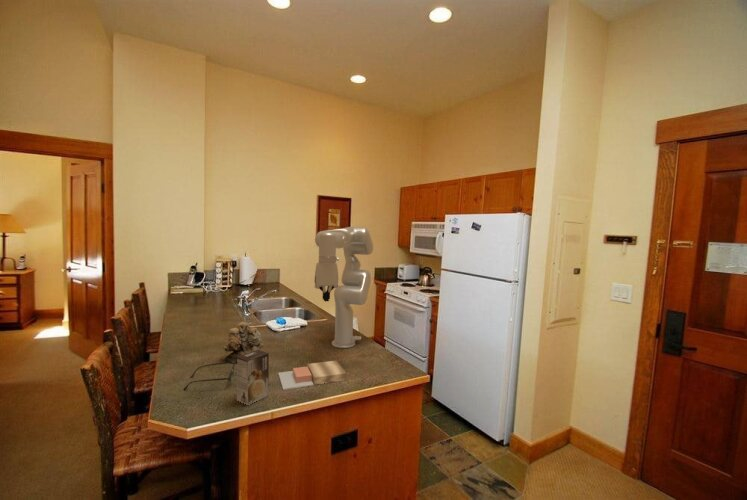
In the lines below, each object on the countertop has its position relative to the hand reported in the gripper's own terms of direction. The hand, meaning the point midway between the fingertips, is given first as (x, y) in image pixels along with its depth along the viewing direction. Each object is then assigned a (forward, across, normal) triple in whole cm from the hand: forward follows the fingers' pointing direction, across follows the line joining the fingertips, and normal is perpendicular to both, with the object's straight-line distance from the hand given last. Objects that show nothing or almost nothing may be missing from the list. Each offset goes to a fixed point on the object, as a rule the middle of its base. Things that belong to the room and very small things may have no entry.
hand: (326, 300), depth 151 cm
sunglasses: (+30, +47, +3) cm, 55 cm away
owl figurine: (+29, +34, -18) cm, 48 cm away
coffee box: (+29, +32, +22) cm, 49 cm away
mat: (+29, +15, +12) cm, 35 cm away
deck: (+29, +2, +12) cm, 32 cm away
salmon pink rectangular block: (+27, +12, +12) cm, 32 cm away
